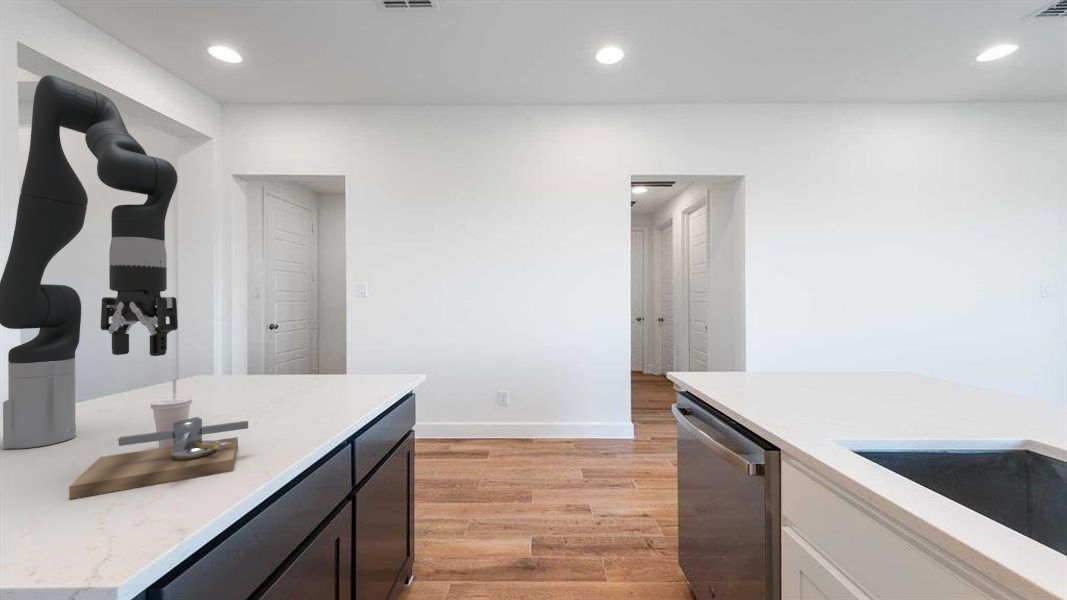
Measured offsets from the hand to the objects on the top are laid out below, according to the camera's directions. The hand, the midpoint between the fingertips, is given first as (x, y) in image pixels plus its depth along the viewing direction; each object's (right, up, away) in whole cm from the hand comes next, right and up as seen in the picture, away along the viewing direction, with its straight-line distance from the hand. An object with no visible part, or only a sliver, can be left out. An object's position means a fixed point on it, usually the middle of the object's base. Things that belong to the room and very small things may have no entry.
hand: (139, 355), depth 76 cm
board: (+6, -20, -1) cm, 21 cm away
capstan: (+9, -18, 0) cm, 20 cm away
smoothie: (-2, -20, +9) cm, 22 cm away
